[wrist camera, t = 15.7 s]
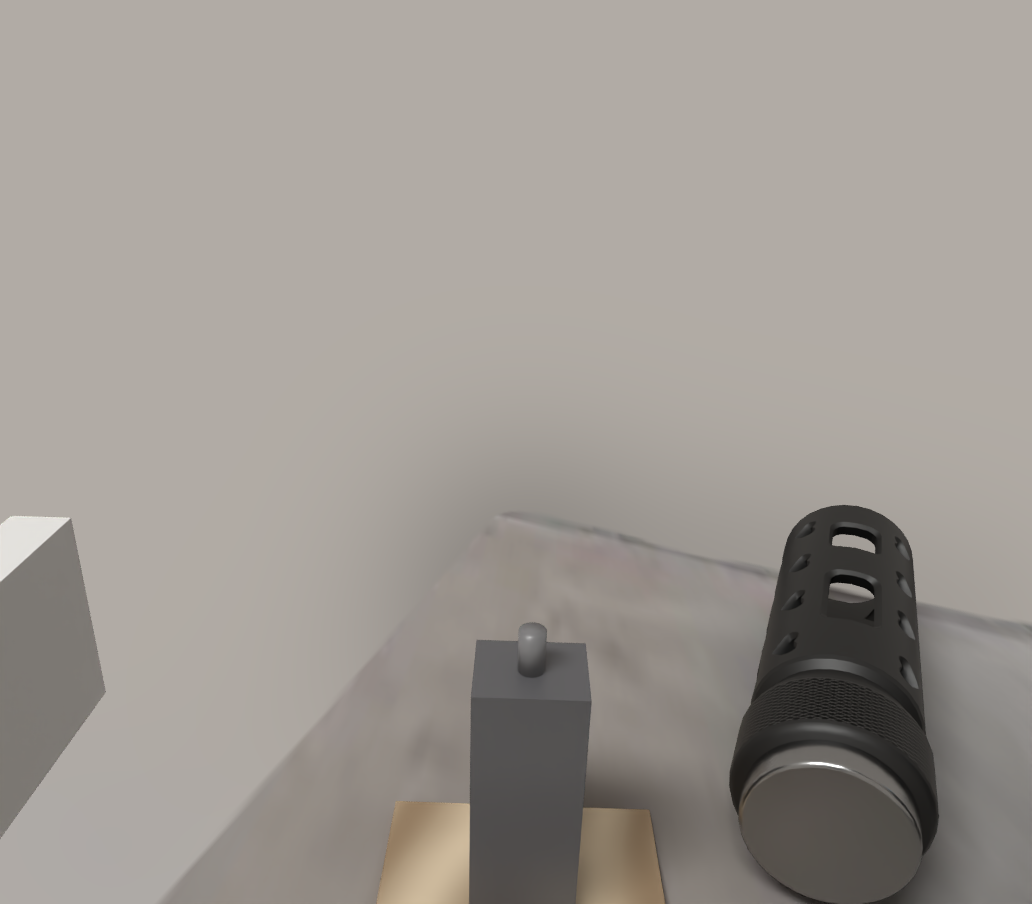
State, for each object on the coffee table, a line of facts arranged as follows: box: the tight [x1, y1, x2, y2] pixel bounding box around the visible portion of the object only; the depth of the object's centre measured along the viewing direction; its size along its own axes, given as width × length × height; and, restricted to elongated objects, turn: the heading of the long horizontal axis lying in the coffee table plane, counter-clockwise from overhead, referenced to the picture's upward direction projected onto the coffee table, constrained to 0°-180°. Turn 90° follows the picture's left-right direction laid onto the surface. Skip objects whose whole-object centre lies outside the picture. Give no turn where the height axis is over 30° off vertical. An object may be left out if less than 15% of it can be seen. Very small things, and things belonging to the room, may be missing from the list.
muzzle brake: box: [729, 505, 939, 904], centre depth 51 cm, size 10×28×10 cm, turn 158°
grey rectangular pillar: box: [469, 623, 591, 904], centre depth 39 cm, size 5×4×15 cm
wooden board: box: [376, 801, 665, 904], centre depth 42 cm, size 14×10×1 cm
